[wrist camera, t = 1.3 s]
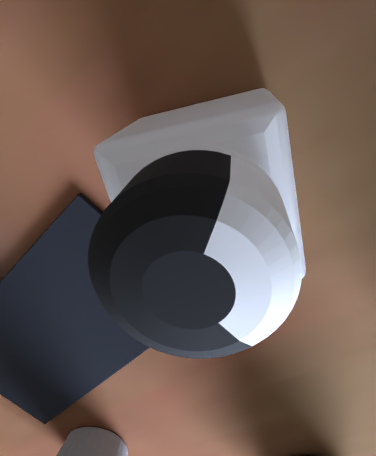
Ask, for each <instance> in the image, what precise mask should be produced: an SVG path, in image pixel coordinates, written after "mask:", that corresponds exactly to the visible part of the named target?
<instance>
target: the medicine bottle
mask: <svg viewBox="0 0 376 456" xmlns="http://www.w3.org/2000/svg"><path fill="white" fill-rule="evenodd" d="M94 157H95V160H96V163H97V166H98V168H99V171H100V174H101V177H102V180H103V183H104V185H105V188H106V191H107V194H108V197H109V200H110V202H111V203H110V205H109V206H108V207H107V208H106V210H105V211H104V212H103V213H102V215H101V216H100V218H99V220H98V222H97V223H96V225H95V227H94V230H93V233H92V235H91V238H90V244H89V249H88V267H89V274H90V278H91V282H92V285H93V288H94V290H95V293H96V295H97V297H98V299H99V301H100V302H101V304H102V305H103V307H104V309H105V310H106V311H107V313H108V314H109V315H110V317H111V318H112V319H113V320H114V321H115V323H116V324H117V325H118V326H120V327H121V328H122V329H123V330H124V331H125V332H126V333H128V334H129V335H130V336H131V337H133V338H134V339H136V340H137V341H139V342H141V343H143V344H144V345H146V346H148V347H151V348H153V349H155V350H157V351H160V352H163V353H166V354H170V355H174V356H178V357H185V358H198V359H206V358H217V357H222V356H227V355H231V354H234V353H237V352H241V351H243V350H245V349H247V348H249V347H252V346H253V345H255V344H257V343H258V342H260V341H262V340H263V339H265V338H266V337H268V336H269V335H270V334H271V333H273V332H274V331H275V330H276V329H277V328H278V327H279V326H280V325H281V324H282V323H283V322H284V321H285V319H286V318H287V316H288V315H289V313H290V312H291V310H292V309H293V307H294V304H295V302H296V300H297V298H298V294H299V290H300V286H301V279H302V278H303V277H304V276H305V272H306V266H305V258H304V250H303V243H302V235H301V227H300V219H299V211H298V203H297V195H296V187H295V180H294V172H293V164H292V156H291V148H290V140H289V132H288V124H287V117H286V110H285V108H284V105H283V104H281V103H280V102H279V101H278V100H277V99H276V98H275V97H274V96H273V95H272V94H271V93H270V92H269V91H268V90H267V89H265V88H260V89H256V90H251V91H247V92H243V93H239V94H235V95H231V96H227V97H223V98H219V99H215V100H211V101H207V102H203V103H199V104H195V105H191V106H187V107H183V108H178V109H174V110H170V111H166V112H162V113H158V114H154V115H150V116H146V117H142V118H140V119H138V120H136V121H135V122H133V123H132V124H130V125H128V126H127V127H125V128H123V129H122V130H120V131H119V132H117V133H115V134H114V135H112V136H111V137H109V138H107V139H106V140H104V141H102V142H101V143H99V144H98V145H96V147H95V149H94Z"/></svg>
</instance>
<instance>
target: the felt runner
mask: <svg viewBox="0 0 376 456" xmlns="http://www.w3.org/2000/svg"><path fill="white" fill-rule="evenodd" d="M102 213H103V212H102V211H100V210H99V209H98V208H97V207H96V206H95V205H94V204H93V203H91V202H90V201H89V200H88V199H87V198H86V197H85V196H84V195H82V194H81V193H79V194H78V195H77V196H76V197H75V199H74V200H73V201H72V202H71V203H70V204H69V205H68V206H67V208H66V209H65V210H64V211H63V212H62V213H61V214H60V215H59V217H58V218H57V219H56V220H55V221H54V222H53V223H52V224H51V225H50V227H49V228H48V229H47V230H46V231H45V232H44V233H43V234H42V236H41V237H40V238H39V239H38V240H37V241H36V242H35V243H34V244H33V246H32V247H31V248H30V249H29V250H28V251H27V252H26V253H25V255H24V256H23V257H22V258H21V259H20V260H19V261H18V262H17V264H16V265H15V266H14V267H13V268H12V269H11V270H10V271H9V272H8V274H7V275H6V276H5V277H4V278H3V279H2V280H1V281H0V394H1V395H2V396H4V397H5V398H7V399H8V400H10V401H11V402H13V403H14V404H16V405H17V406H19V407H20V408H22V409H23V410H24V411H26V412H27V413H29V414H30V415H32V416H33V417H35V418H36V419H38V420H39V421H41V422H42V423H44V424H46V423H47V422H49V421H50V420H52V419H53V418H54V417H56V416H57V415H58V414H60V413H61V412H62V411H64V410H65V409H67V408H68V407H69V406H71V405H72V404H73V403H75V402H76V401H77V400H79V399H80V398H82V397H83V396H84V395H86V394H87V393H88V392H90V391H91V390H92V389H94V388H95V387H97V386H98V385H99V384H101V383H102V382H103V381H105V380H106V379H107V378H109V377H110V376H112V375H113V374H114V373H116V372H117V371H118V370H120V369H121V368H122V367H124V366H125V365H127V364H128V363H129V362H131V361H132V360H133V359H135V358H136V357H137V356H139V355H140V354H142V353H143V352H144V351H146V350H147V349H148V348H150V347H148V346H146V345H144V344H143V343H141V342H139V341H137V340H136V339H134V338H133V337H131V336H130V335H129V334H128V333H126V332H125V331H124V330H123V329H122V328H121V327H120V326H118V325H117V324H116V323H115V321H114V320H113V319H112V318H111V317H110V315H109V314H108V313H107V311H106V310H105V309H104V307H103V305H102V304H101V302H100V301H99V299H98V297H97V295H96V293H95V290H94V288H93V285H92V282H91V278H90V274H89V267H88V249H89V244H90V238H91V235H92V233H93V230H94V227H95V225H96V223H97V222H98V220H99V218H100V216H101V215H102Z"/></svg>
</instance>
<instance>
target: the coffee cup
mask: <svg viewBox="0 0 376 456" xmlns="http://www.w3.org/2000/svg"><path fill="white" fill-rule="evenodd" d="M57 456H128V450H127V447H126V445H125V443H124V442H123V440H122V439H121V438H120V437H119V436H117V435H116V434H114V433H113V432H111V431H108V430H105V429H102V428H97V427H81V428H77V429H75V430H73V431H72V432H71V433H70V434H69V435H68V436H67V438H66V440H65V442H64V444H63V445H62V447H61V449H60V451H59V452H58V454H57Z"/></svg>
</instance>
